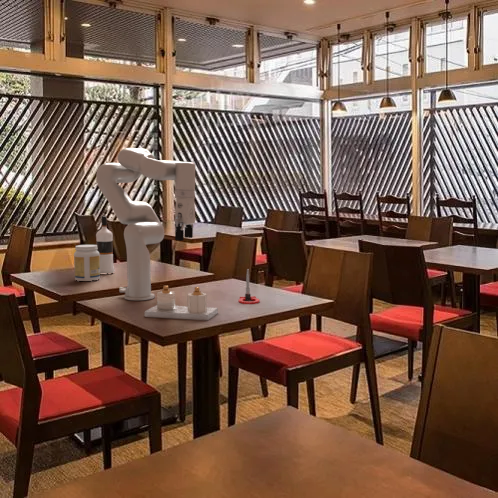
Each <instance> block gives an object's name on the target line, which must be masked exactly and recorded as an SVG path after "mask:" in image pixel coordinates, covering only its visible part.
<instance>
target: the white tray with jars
mask: <svg viewBox="0 0 498 498" xmlns="http://www.w3.org/2000/svg"><path fill="white" fill-rule="evenodd" d="M201 291H202V290H200V286H194V291H192V293H193V295H201V293H202V292H201ZM218 308H219V307H210V306H209V307H208V306H207V311H205V312H189V311H188V305H187V306H185V305H176V292H175V291H172V290H170V288H169V285H163V288H162V289H161V291H157V292H156V305H154V306H152V307H150V308H148V309H146V310H145V311H144V317H146V318H162V319H178V320H195V321H196V320H197V321H209V320H211V319H213V318H214V317H215V316H217V315H218V314H219V309H218Z"/></svg>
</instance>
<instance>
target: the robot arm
mask: <svg viewBox="0 0 498 498" xmlns="http://www.w3.org/2000/svg"><path fill="white" fill-rule="evenodd" d="M117 161H118V162H107V163H103V164H101V165H100V166H98V168H97V171H96V176H95V177H96V184H97V186H98V188H99V190H100V192H101V194H102V195H103V196H104V197H105V199H106V200H107V201H108V203H109V205H110V207H111V209H112V211H113V213H114V214H115V216H116V218H117V220H118V222H120V224H123V225H126V226H125V228H124V231H123V240H124V243H125V248H126V262H127V263H126V265H127V266H126V268H127V269H126V270H127V273H126V274H127V286H126V287H122V286H121V287H119V289H118V290H119V293H121V294H122V293H124V295H123V298H124V300H128V301H149V300H152V299H155V298H156V294H155V293H152V285H151V284H152V282H151V281H152V280H151V277H152V274H151V271H152V270H151V254H150V251H149V249H148V247H147V246H148V245H154V244H159V243H161V242H162V241H163V240H164V237H165V229H164V227H163V224H162V222H161V221H160V219H159V217H158V215H157V214H156V212H155V210H154V209H153V207H152V206H151V205H150V204H149V203H148V202H147V201H143V200H142V201H141V200H140V201H135V200H132V199H131V197H130V196H129V194H128V192H127V191H126V190H125V188H123V187H122V186H120V185H119V184H130V183H133V182H135V181H136V180H137V179H139V178H140V177H141V176H143V177H145V178H148V179H152V180H155V181H174V183H175V184H174V199H176V200H175V209H174V230H175V231H174V232H175V233H174V234H175V235H174V240H175V241H179V242H181V241H184V238H186V239H187V238H189V239H192V238H193V237H194V236H193V235H194V233H193V232H194V223H196V222H195V221H196V207H195V199H196V197H195V196H196V195H195V194H196V164H195V163H194V162H192V161H179V160H165V159H164V160H160V159H159V160H158V159H156V158H155V156H154V155H153V154H152V153H151V151H149V150H148V149H147V148H141V147H139V148H138V147H137V148H136V147H127V148H122V149H121V150H120V151H119V152H118V154H117ZM184 226H185V227H184Z"/></svg>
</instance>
